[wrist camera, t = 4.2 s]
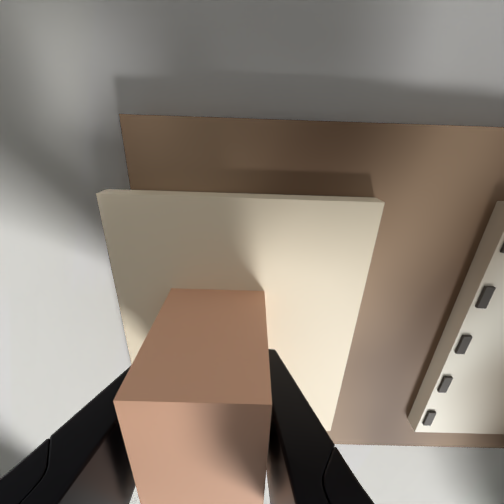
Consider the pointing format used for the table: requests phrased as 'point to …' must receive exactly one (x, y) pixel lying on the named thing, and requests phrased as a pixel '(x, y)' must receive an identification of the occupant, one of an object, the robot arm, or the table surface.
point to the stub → (228, 326)
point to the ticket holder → (378, 255)
